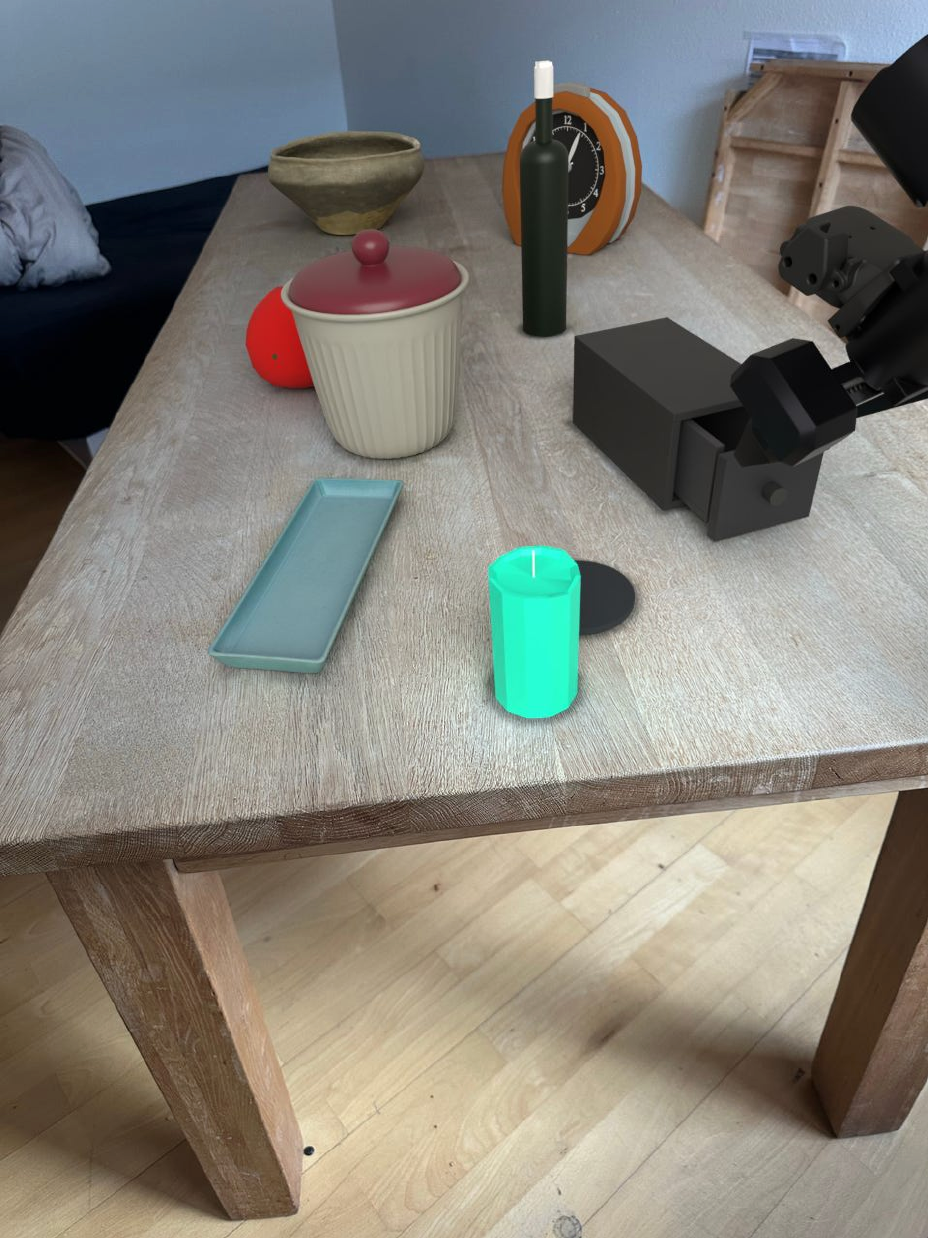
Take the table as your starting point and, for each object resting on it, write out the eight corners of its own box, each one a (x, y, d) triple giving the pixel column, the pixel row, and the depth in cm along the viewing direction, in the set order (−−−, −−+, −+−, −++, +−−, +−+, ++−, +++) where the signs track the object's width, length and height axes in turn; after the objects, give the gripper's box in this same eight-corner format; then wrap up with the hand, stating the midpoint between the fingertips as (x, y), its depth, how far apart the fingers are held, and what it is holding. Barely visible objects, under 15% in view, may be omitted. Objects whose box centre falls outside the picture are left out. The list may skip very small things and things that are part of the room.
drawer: (818, 523, 72) (837, 441, 67) (722, 550, 70) (735, 467, 65) (695, 427, 87) (704, 354, 82) (613, 447, 85) (617, 373, 80)
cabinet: (764, 485, 79) (782, 389, 73) (663, 511, 77) (673, 414, 71) (659, 402, 94) (667, 316, 88) (572, 422, 91) (574, 335, 85)
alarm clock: (495, 241, 144) (489, 86, 130) (528, 226, 150) (525, 76, 136) (609, 258, 133) (616, 91, 119) (639, 241, 139) (649, 79, 125)
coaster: (658, 604, 67) (659, 598, 66) (570, 651, 63) (570, 645, 63) (583, 553, 73) (584, 547, 72) (499, 593, 69) (499, 587, 69)
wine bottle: (536, 318, 116) (534, 57, 97) (573, 324, 113) (579, 57, 94) (514, 332, 112) (508, 64, 93) (552, 339, 109) (553, 65, 90)
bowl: (311, 259, 143) (295, 167, 134) (259, 225, 162) (243, 142, 153) (456, 227, 152) (450, 139, 143) (391, 199, 171) (382, 119, 162)
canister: (499, 407, 95) (491, 206, 82) (442, 489, 82) (421, 265, 69) (355, 393, 101) (326, 202, 87) (281, 467, 88) (232, 256, 74)
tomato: (291, 427, 102) (360, 387, 110) (321, 351, 92) (394, 313, 100) (215, 356, 102) (290, 321, 111) (238, 272, 92) (318, 241, 101)
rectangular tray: (317, 494, 83) (312, 472, 82) (407, 498, 82) (404, 475, 80) (212, 678, 63) (203, 653, 62) (328, 687, 62) (322, 662, 60)
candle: (508, 727, 58) (501, 588, 50) (483, 670, 62) (474, 535, 55) (590, 707, 59) (596, 567, 51) (560, 652, 63) (561, 517, 56)
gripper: (996, 122, 47) (814, 305, 61) (764, 190, 40) (619, 379, 54) (1117, 282, 45) (901, 432, 59) (898, 383, 38) (711, 527, 52)
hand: (787, 438), depth 56 cm, fingers open, 9 cm apart
